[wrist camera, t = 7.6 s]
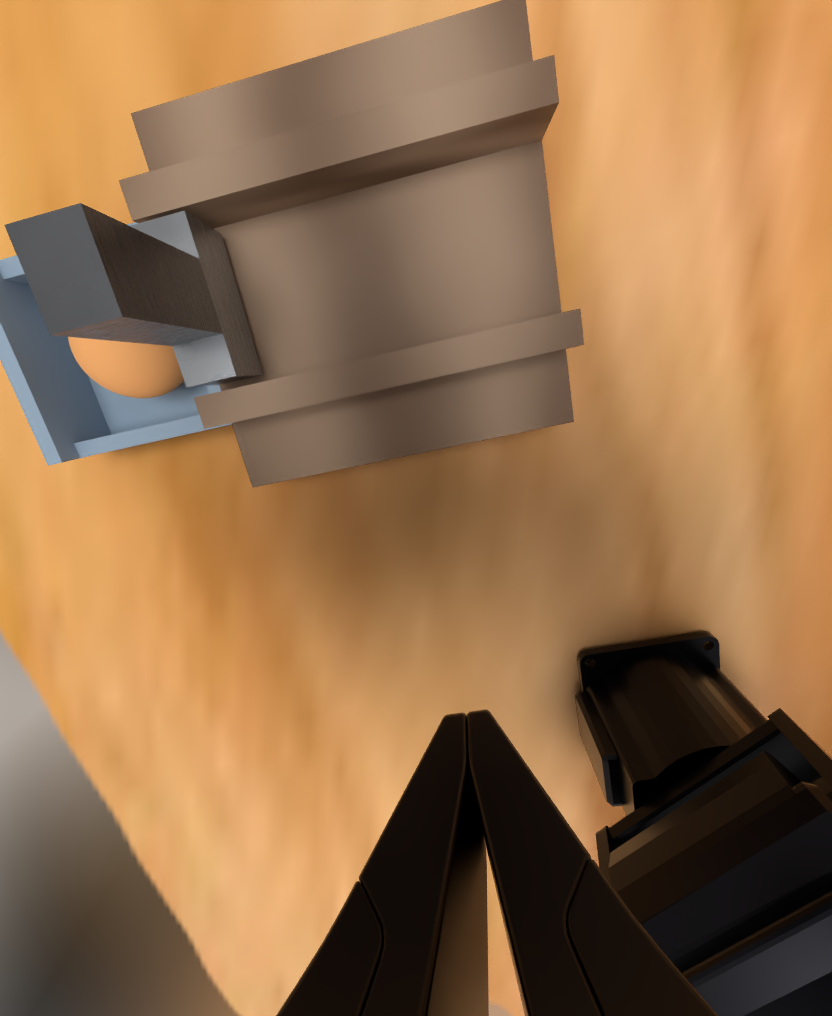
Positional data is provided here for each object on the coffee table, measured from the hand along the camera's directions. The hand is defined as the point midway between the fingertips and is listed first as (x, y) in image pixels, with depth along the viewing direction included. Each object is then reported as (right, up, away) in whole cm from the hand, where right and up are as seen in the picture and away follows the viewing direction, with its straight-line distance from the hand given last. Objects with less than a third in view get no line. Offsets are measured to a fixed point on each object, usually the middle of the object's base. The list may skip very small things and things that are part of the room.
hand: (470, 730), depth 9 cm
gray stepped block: (-8, +11, +7) cm, 15 cm away
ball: (-12, +10, +8) cm, 18 cm away
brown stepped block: (-2, +13, +10) cm, 16 cm away
